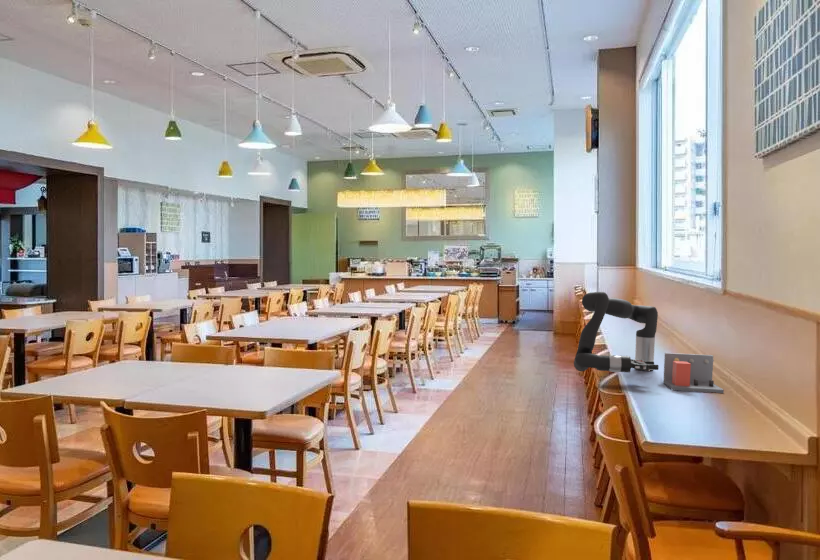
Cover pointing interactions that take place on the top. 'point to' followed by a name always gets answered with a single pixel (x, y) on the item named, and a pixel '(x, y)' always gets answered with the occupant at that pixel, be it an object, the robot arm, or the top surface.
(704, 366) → the grey peg stand
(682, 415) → the top surface
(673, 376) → the tall coral upright block
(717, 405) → the top surface
